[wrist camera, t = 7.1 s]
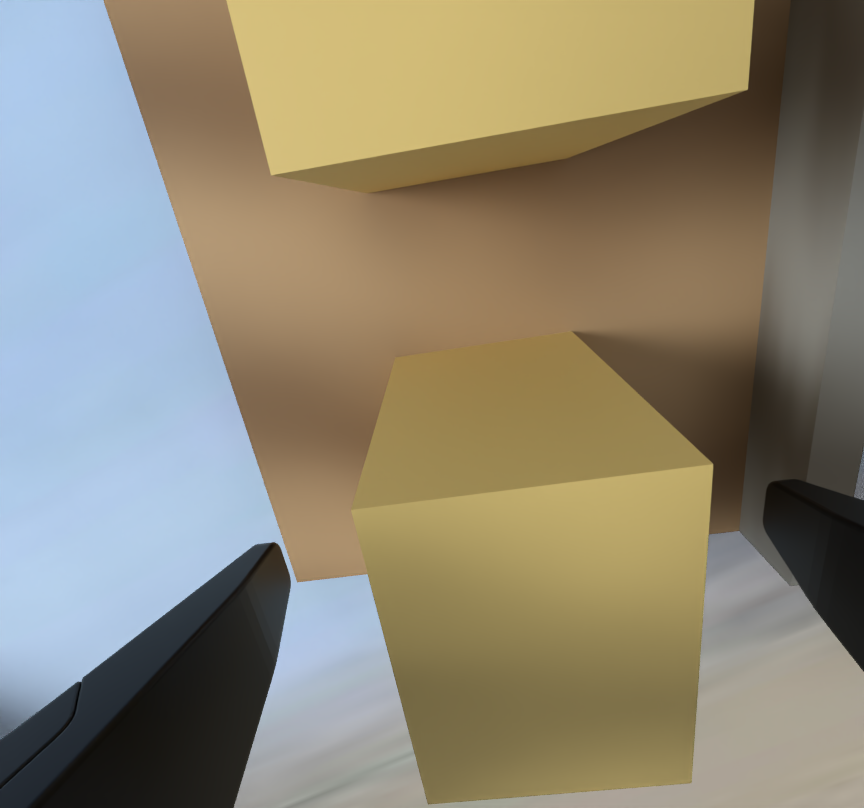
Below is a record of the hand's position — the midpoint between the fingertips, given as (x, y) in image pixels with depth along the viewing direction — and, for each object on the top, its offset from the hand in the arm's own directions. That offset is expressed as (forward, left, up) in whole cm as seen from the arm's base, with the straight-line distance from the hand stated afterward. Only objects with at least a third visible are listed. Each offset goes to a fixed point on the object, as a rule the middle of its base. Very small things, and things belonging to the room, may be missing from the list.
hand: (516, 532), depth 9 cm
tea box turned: (0, 0, -3) cm, 3 cm away
